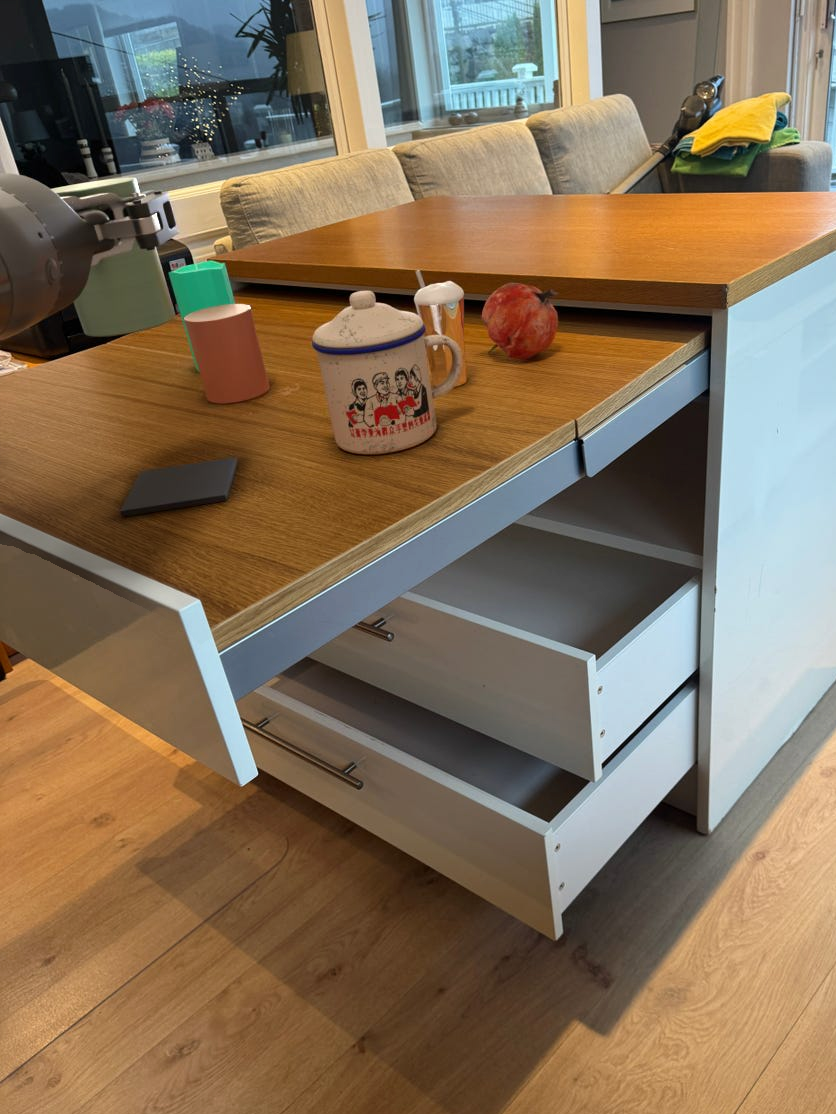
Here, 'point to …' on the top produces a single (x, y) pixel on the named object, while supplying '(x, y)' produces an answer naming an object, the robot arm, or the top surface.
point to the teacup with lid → (380, 376)
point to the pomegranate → (520, 320)
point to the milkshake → (442, 325)
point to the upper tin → (121, 278)
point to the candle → (200, 289)
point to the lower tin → (227, 353)
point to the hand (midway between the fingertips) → (110, 213)
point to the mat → (180, 486)
